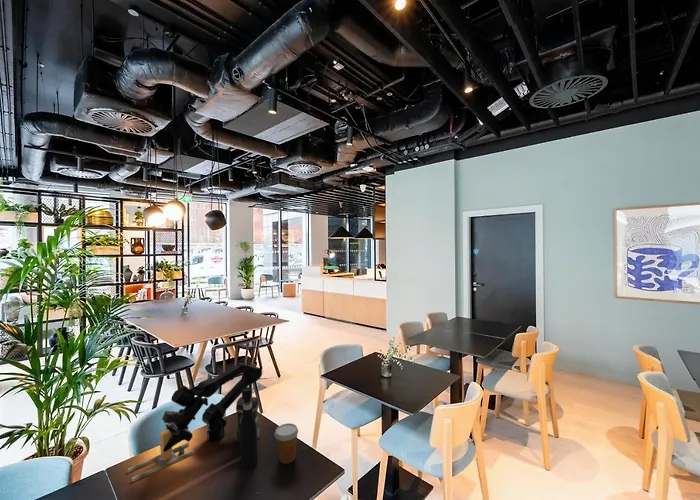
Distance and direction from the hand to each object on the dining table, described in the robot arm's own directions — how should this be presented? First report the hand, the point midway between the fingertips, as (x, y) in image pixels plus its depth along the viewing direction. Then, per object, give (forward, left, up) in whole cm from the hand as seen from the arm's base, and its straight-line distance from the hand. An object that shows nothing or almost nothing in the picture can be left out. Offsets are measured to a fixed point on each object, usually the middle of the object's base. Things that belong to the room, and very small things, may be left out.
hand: (162, 448), depth 126 cm
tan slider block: (-1, 0, -5) cm, 5 cm away
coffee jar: (-32, +10, -7) cm, 34 cm away
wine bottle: (-24, +26, -7) cm, 36 cm away
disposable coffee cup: (-36, +35, -7) cm, 51 cm away
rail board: (0, 0, -7) cm, 7 cm away
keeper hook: (-7, 0, -6) cm, 9 cm away
